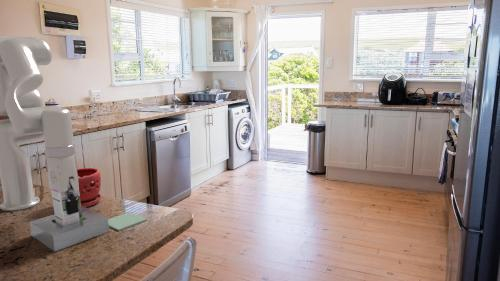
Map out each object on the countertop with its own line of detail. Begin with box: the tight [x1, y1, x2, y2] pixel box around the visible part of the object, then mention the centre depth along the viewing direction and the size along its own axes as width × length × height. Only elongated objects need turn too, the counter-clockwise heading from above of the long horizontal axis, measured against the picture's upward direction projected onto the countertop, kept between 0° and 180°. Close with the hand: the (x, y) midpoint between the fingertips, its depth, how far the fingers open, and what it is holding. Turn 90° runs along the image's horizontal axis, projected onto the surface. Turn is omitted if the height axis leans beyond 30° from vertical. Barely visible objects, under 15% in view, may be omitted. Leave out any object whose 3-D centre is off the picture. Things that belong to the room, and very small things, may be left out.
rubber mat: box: [108, 211, 148, 232], centre depth 123 cm, size 10×10×1 cm
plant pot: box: [76, 167, 102, 208], centre depth 139 cm, size 13×13×12 cm
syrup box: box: [50, 187, 83, 227], centre depth 113 cm, size 6×6×14 cm
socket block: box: [29, 206, 110, 252], centre depth 114 cm, size 16×16×4 cm
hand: (67, 210), depth 113 cm, fingers closed on syrup box, 5 cm apart
